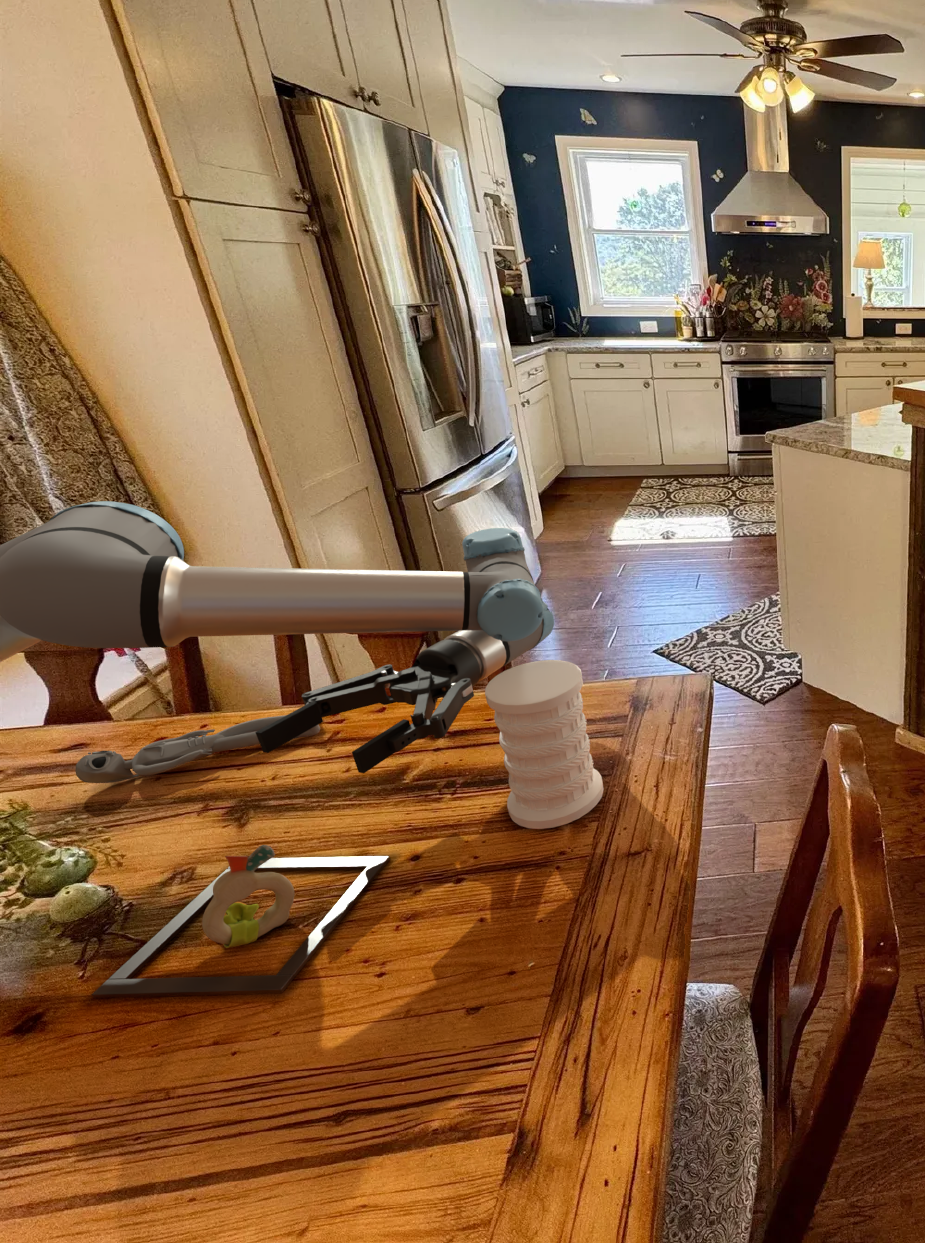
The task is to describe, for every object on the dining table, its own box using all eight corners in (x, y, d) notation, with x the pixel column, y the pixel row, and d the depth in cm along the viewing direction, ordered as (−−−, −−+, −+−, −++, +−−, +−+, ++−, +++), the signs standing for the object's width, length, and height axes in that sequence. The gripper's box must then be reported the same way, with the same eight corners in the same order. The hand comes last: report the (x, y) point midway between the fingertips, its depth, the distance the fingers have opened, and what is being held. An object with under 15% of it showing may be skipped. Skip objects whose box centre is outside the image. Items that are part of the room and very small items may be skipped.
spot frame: (93, 998, 67) (91, 994, 67) (239, 861, 83) (237, 858, 82) (282, 993, 68) (280, 989, 68) (390, 858, 84) (389, 855, 83)
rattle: (301, 880, 80) (270, 799, 76) (304, 928, 74) (270, 843, 70) (214, 913, 76) (175, 829, 72) (209, 966, 70) (166, 879, 66)
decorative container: (488, 810, 91) (459, 691, 85) (562, 761, 101) (541, 650, 94) (551, 840, 87) (526, 716, 80) (622, 786, 96) (605, 671, 90)
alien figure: (315, 714, 103) (63, 774, 88) (323, 742, 105) (77, 806, 90) (313, 691, 109) (76, 744, 94) (320, 718, 111) (88, 774, 96)
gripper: (542, 698, 96) (408, 799, 77) (393, 672, 102) (234, 761, 83) (532, 649, 93) (391, 742, 74) (380, 626, 99) (212, 706, 80)
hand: (308, 752), depth 78 cm, fingers open, 13 cm apart
